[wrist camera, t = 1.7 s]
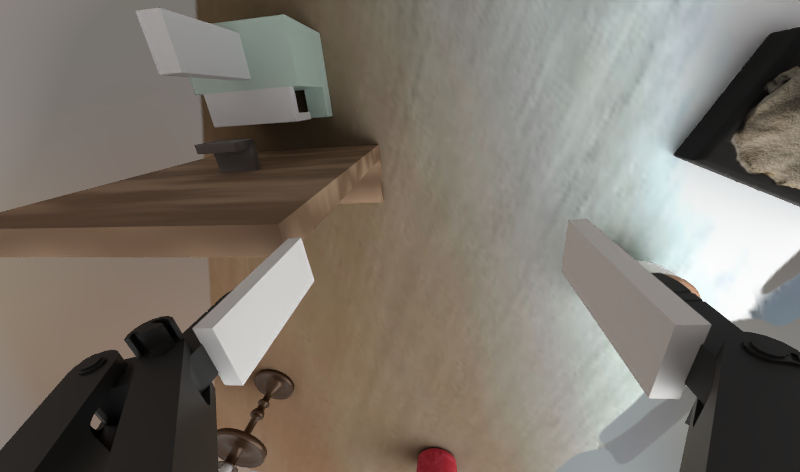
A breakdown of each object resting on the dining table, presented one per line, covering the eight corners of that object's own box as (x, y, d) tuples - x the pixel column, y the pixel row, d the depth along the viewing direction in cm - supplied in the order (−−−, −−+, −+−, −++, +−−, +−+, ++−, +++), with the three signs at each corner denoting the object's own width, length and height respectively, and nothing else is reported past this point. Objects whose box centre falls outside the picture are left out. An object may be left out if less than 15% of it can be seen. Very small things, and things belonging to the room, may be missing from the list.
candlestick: (260, 396, 70) (115, 639, 39) (247, 365, 65) (70, 613, 34) (302, 399, 68) (187, 655, 37) (291, 367, 64) (149, 630, 32)
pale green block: (231, 43, 37) (69, 2, 21) (319, 33, 35) (218, -21, 19) (252, 121, 41) (130, 137, 25) (332, 115, 39) (258, 129, 23)
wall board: (217, 132, 42) (-107, 184, 17) (376, 121, 39) (262, 167, 14) (240, 203, 47) (13, 325, 22) (384, 199, 43) (309, 337, 18)
